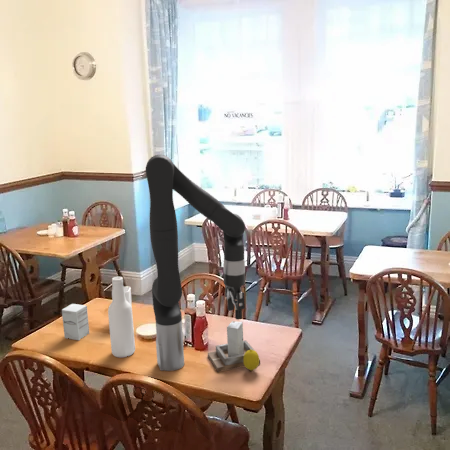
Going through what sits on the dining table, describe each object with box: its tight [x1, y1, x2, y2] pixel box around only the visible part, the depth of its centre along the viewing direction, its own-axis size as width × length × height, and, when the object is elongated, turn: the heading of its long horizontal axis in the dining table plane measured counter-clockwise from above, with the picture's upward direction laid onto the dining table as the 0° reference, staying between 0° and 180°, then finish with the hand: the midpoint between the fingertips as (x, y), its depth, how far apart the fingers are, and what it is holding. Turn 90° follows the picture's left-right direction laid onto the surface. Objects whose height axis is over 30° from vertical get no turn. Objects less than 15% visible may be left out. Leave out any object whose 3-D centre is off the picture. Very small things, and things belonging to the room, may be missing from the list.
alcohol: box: [107, 276, 136, 358], centre depth 194 cm, size 9×9×30 cm
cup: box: [111, 285, 133, 308], centre depth 223 cm, size 7×7×15 cm
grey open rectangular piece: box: [207, 340, 261, 373], centre depth 188 cm, size 16×12×4 cm
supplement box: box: [61, 303, 90, 341], centre depth 211 cm, size 7×7×13 cm
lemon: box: [243, 349, 260, 372], centre depth 180 cm, size 6×6×8 cm
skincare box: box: [226, 320, 244, 357], centre depth 187 cm, size 6×4×12 cm
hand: (234, 314), depth 185 cm, fingers open, 8 cm apart
